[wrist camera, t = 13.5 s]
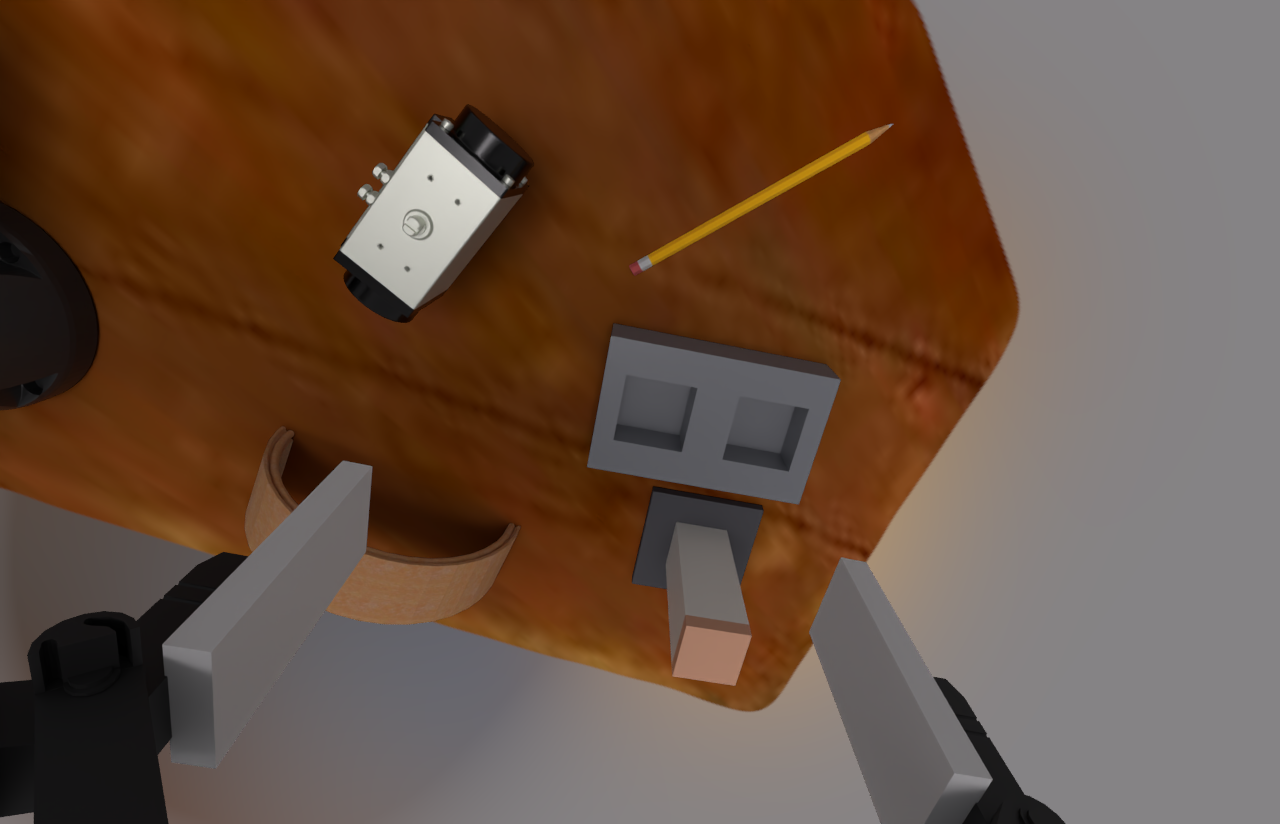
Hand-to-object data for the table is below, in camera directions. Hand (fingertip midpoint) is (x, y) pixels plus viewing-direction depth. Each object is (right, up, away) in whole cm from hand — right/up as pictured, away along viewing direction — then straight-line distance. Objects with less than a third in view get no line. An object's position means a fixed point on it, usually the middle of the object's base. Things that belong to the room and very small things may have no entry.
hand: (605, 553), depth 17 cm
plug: (+6, -7, +33) cm, 34 cm away
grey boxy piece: (+6, +4, +29) cm, 30 cm away
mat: (+6, -7, +34) cm, 35 cm away
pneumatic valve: (-11, +18, +24) cm, 32 cm away
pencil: (+9, +18, +24) cm, 32 cm away
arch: (-19, -4, +33) cm, 38 cm away
